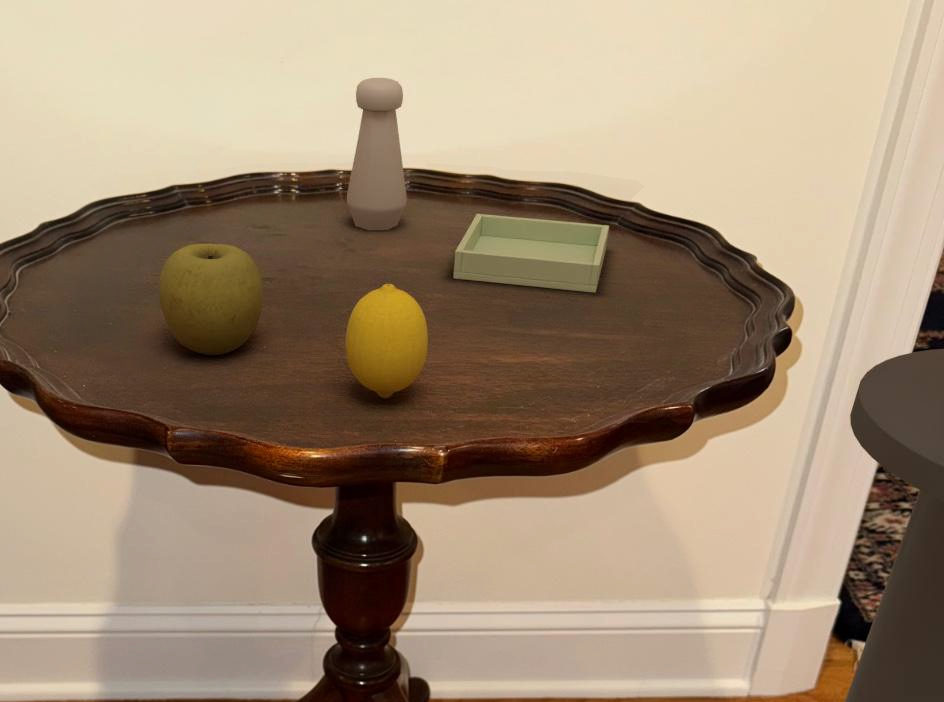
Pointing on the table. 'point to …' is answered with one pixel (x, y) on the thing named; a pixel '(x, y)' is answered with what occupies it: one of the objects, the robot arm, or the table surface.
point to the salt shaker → (377, 158)
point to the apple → (211, 297)
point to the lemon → (386, 340)
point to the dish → (532, 252)
